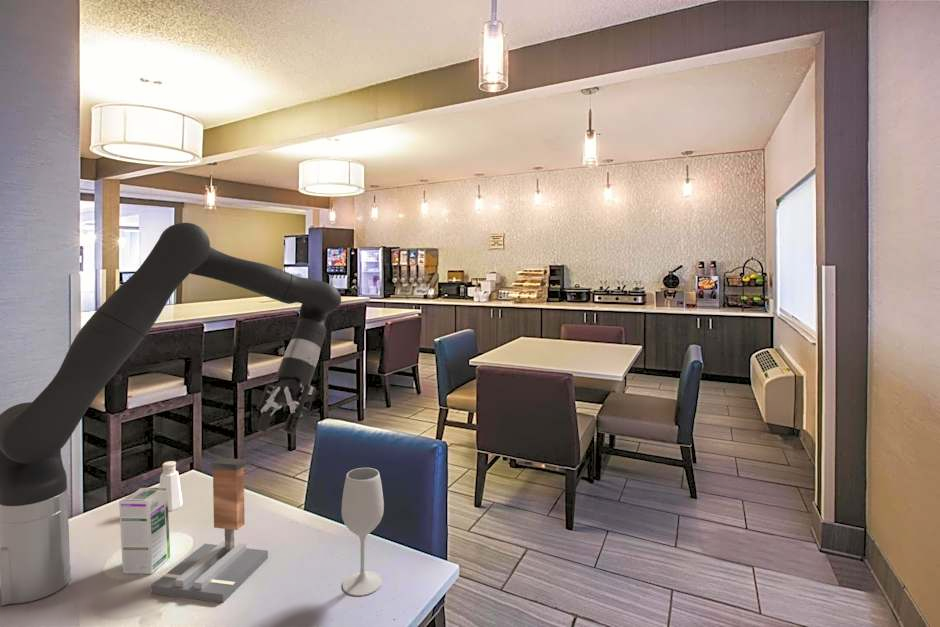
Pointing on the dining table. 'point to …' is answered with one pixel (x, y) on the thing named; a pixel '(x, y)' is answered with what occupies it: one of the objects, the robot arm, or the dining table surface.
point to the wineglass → (362, 522)
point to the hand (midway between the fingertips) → (274, 431)
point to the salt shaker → (171, 485)
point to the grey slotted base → (210, 572)
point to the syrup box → (144, 530)
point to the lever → (228, 497)
